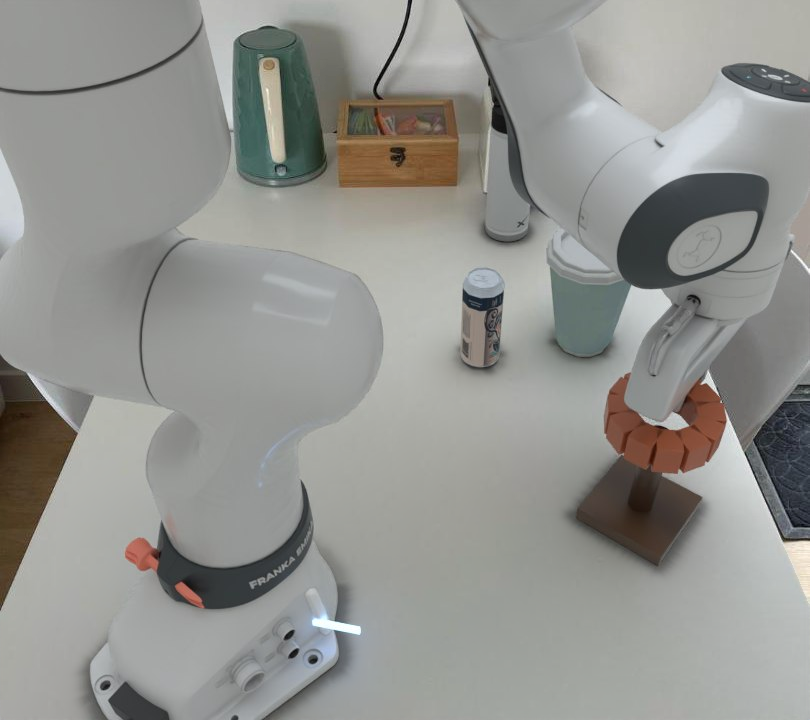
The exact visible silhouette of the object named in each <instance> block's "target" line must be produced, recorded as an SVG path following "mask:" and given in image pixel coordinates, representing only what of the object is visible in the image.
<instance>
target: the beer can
mask: <svg viewBox="0 0 810 720" xmlns="http://www.w3.org/2000/svg"><path fill="white" fill-rule="evenodd" d="M505 287H506V283H505V280H504V279H503V277H502V275H501V274H500V273H499V271H498V270H497V269H493V268H490V267H485V266H484V267H475V268H474V269H472V270H470V271H468V273H467V275H466V276H465V277H464V279H463V281H462V297H461V298H462V299H461V324H460V326H461V327H460V331H461V332H460V350H459V351H460V352H459V353H460V354H459V355H460V358H461V359H462V361H463V362H464V363H465V364H467V365H469V366H471V367H475V368H485V367H490V366H493V365H494V364H495V363H496V362H498V360H499V359H500V350H501V349H500V348H501V346H500V345H501V335H502V322H503V310H504V309H503V308H504V296H505V295H504V294H505Z"/></svg>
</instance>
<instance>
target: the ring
mask: <svg viewBox="0 0 810 720" xmlns="http://www.w3.org/2000/svg"><path fill="white" fill-rule="evenodd" d="M630 374H631V371H630V372H628V373H625V374H624V376H623V377H622V376H620V377H618V379H617V380H616V382H615V383H614V384H613V385H612V386H611V387H610V389H609V391H608V394H607V395H606V396H607V397H606V402H605V408H604V412H603V433H604V434H605V435H606V437H605V439H606V440H607V442H608V443H609V444H610V445H611V447H612V449H614V451H615V452H616V453H617V454H618V456H621V455H624V457H623V458H624V459H625V460H627V461H629V462H631V463H633V464H635V465H637V466H639V467H641V468H643V469H645V470H646V469H647V468H648V467H649V465H650V464H651V471H652V472H660V473H662V474H673V475H678V473H679V470H680V471H681V473H682V474H685V473H688V472H690V471H694V470H696V469H699V468H701V467H704V466H706V463H709V462H710V461H711V459H712V458H713V456H715V453H716V452H717V450H718V449H719V447H720V445H721V442H722V439H723V436H724V433H725V430H726V426H727V422H728V419H727V414H726V413H727V412H726V409H725V408H726V407H725V403H724V402H722V398H721V396H719V394H718V393H717V392H716V391H715V390H714V389H713V388H712V387H711V386H710V385H709V384H708V383H707V382H705V383H703V382H702V380H701V379H698V381H697V382H696V383H695V384H694V386H693V387H692V388H691V389H690V391H689V395H688V397H687V401H686V403H685V404H684V406H683V407H682V408H681V410H680V411H679V412H673V413H674V414H676V415H679V416H680V417H681V418H682V419H683V421H684V422H685V423H686V424H687V425H688V426H685V427H683V428H679V429H669V428H668V429H669V430H668V429H659V428H657V427H655V426H653V424H652V423H649V422H646V420H645V419H644V418H643V417H642V415H641V414H639V413H637V412H635V411H634V410H632V409H630V408H629V407H628V406H627V405H626V403H625V401H624V396H625V392H626V388H627V384H628V381H629V377H630ZM701 382H702V383H701Z"/></svg>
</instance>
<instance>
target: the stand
mask: <svg viewBox="0 0 810 720" xmlns="http://www.w3.org/2000/svg"><path fill="white" fill-rule="evenodd" d="M652 425H653V424H652ZM653 426H655V427H657V428H659V429H668V430H670V429H669V428H668V427H666V426H664V425H659V424H655V425H653ZM623 457H624V454H621V455H619V457H618V458H617V460H616V461H615V462H614V463H613V464H612V466H610V468H609V469H608V470H607V472H606V473H605V474H604V476H603V477H602V478H601V479H600V480H599V482H598V483H597V484H596V485H595V487H594V488H593V489H592V490H591V491H590V492H589V494H588V495H587V496H586V497H585V498H584V500H583V501H582V502H581V504H579V506H578V507H577V509H576V513H575V514H576V515H575V519H578V520H579V521H581V522H583V523H584V524H586V525H588V526H590V528H592V529H594V530H595V531H598V532H600V533H601V534H603V535H605V536H607V537H608V538H610V539H611V540H613V541H614V542H617V543H618V544H620V545H621V546H623V547H625V548H627V549H628V550H630V551H632V552H634V553H635V554H637V555H639V556H640V557H642V558H644V559H645V560H647V561H648V562H650V563H652V564H654V565H655V566H657V567H659V566H660V564H661V563H662V562H663V560H664V559H665V557H666V556H667V554H668V553H669V551H671V549H672V547H673V545H674V544H675V543H676V542H677V540H678V539H679V537H680V535H681V534H682V533H683V531H684V529H686V527H687V525H688V524H689V522H690V521H691V519H692V518H693V516H694V515H695V514H696V512H697V510H698V509H699V508H700V506H701V504H702V500H703V496H701V495H700V494H697V493H696V492H694V491H691V490H690V489H688V488H686V487H684V486H682V485H681V484H678V483H677V482H675V481H673V480H671V479H669V478H668V477H666V476H664V475H663V473H660V472H652V471H651V464H650V465H649V467H648V468H647V469H646V470H645V469H643V468H641V467H639V466H637V465H635V464H633V463H631V462H629V461H627V460H625V459H624V458H623Z"/></svg>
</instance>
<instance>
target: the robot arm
mask: <svg viewBox="0 0 810 720" xmlns="http://www.w3.org/2000/svg"><path fill="white" fill-rule="evenodd" d="M454 1H455V2H456V4H457V5H458V7H459V9H460V11H461V13H462V17H463V19H464V22H465V25H466V26H467V30H468V31H469V35H470V36H471V39H472V41H473V43H474V46H475V48H476V51H477V53H478V55H479V58H480V60H481V63H482V65H483V67H484V70H485V72H486V74H487V77H488V79H489V82H490V84H491V86H492V89H493V91H494V93H495V95H496V98H497V101H498V100H499V103H500V105H501V108H502V111H503V114H504V117H505V121H506V127H507V137H508V164H509V172H510V177H511V181H512V183H513V186H514V188H515V190H516V191H517V193H518V194H519V196H520V197H521V198H522V199H523V200H524V201H525V202H527V203H528V204H530V207H533V208H534V209H536V211H538V212H540V213H541V214H543V215H544V216H545V217H547V218H548V219H551V221H553V222H554V223H556V225H558V226H559V228H560V227H561V228H562V229H563V230H565V231H566V232H567V233H568V234H569V235H570V236H572V237H573V238H574V239H575V240H576V241H577V242H579V243H580V244H581V245H582V246H583V247H584V248H585V249H587V250H588V251H589V252H591V253H592V254H593V255H594V256H595V257H597V258H598V259H599V260H600V261H601V262H602V263H603V264H605V265H606V266H607V267H608V268H610V269H611V270H612V271H613V272H614V273H616V274H617V275H618V276H620V277H621V278H622V279H624V280H625V281H627V282H628V283H629V284H631V287H634V288H638V289H641V290H661V292H662V293H663V294H664V295H665V297H666V298H667V299H668V300H669V301H670V303H671V305H670V306H669V307H668V308H667V310H666V311H664V313H663V314H662V315H661V316H660V317H659V319H657V320H656V322H654V324H653V325H652V326H651V327H650V328H649V329H648V331H647V332H646V334H645V335H644V338H643V339H642V340H641V343H640V345H639V347H638V349H637V353H636V355H635V358H634V361H633V365H632V368H631V371H630V372H631V374H630V377H629V381H628V384H627V388H626V392H625V396H624V401H625V403H626V405H627V406H628V407H629V408H630V409H632V410H634V411H635V412H637V413H638V414H639V415H640V416H643V417H645V418H648V419H650V420H652V421H655V422H658V423H663V422H665V421H666V420H667V419H668V418H669V417H670V416H671V415H672V413H674V412H679V411H680V410H681V408H682V407H683V406H684V404H685V403H686V401H687V397H688V395H689V391H690V389H691V388H692V387H693V386H694V384H695V383H696V382H697V381H698V379H701V380H702V382H701V384H703V383H704V381H705V379H706V378H707V374H708V371H709V368H710V366H711V365H712V363H713V362H714V361H715V360H716V358H717V357H718V356H719V355H720V354H721V352H722V351H723V350H724V348H725V347H726V346H727V344H729V342H730V341H731V340H732V338H733V337H734V336H735V334H737V332H738V331H739V329H740V328H741V327H742V326H743V325H744V323H745V322H746V321H747V320H748V318H750V317H753V316H756V315H758V314H760V313H761V312H762V311H764V310H765V309H767V307H768V306H769V304H770V302H771V301H772V297H773V295H774V292H775V289H776V286H777V283H778V281H779V278H780V276H781V272H782V269H783V267H784V264H785V262H786V260H788V257H789V256H790V253H791V252H792V250H793V247H794V244H795V240H796V236H795V234H793V233H790V232H791V231H790V230H791V227H792V224H793V222H794V221H795V219H796V217H797V216H798V215H799V214H800V213H801V211H802V210H803V208H804V206H805V204H806V202H807V199H808V197H809V194H810V81H808V80H807V79H805V78H803V77H801V76H799V75H796V74H795V73H792V72H790V71H788V70H785V69H783V68H780V69H779V68H778V67H772V66H769V65H768V64H761V63H752V62H737V63H734V64H728V65H725V66H722V67H721V68H719V70H717V72H716V74H715V76H714V78H713V79H712V82H711V84H710V86H709V88H708V91H707V93H706V96H705V98H704V99H703V100H702V101H701V102H700V103H699V104H698V106H697V107H696V108H694V110H693V111H691V113H689V114H688V115H687V116H686V117H685V118H684V119H682V120H681V121H679V122H678V123H677V124H675V125H674V126H672V127H671V128H668V129H667V130H664V131H662V130H660V129H659V128H657V127H656V126H654V125H653V124H651V123H650V122H648V121H646V120H644V119H643V118H641V117H640V116H639V115H637V114H635V113H634V112H632V111H630V110H629V109H627V108H626V107H624V106H623V105H622V104H621V103H620V102H619V101H617V100H616V99H615V98H613V97H612V96H610V95H609V94H608V93H606V92H605V91H604V90H603V89H601V88H600V87H599V86H597V85H595V84H594V83H593V82H592V81H591V80H590V79H589V77H588V75H587V73H586V70H585V67H584V65H583V64H584V63H583V61H582V57H581V53H580V49H579V46H578V42H577V39H576V36H575V31H574V29H573V26H574V25H576V24H578V23H579V22H581V21H583V20H584V19H586V18H588V16H590V15H591V14H592V13H593V12H595V11H596V10H598V9H599V8H600V7H601V6H602V5H603V4H605V3H606V2H607V1H608V0H454ZM208 37H209V36H208V33H207V29H206V24H205V20H204V15H203V12H202V7H201V1H200V0H0V151H1V154H2V156H3V158H4V161H5V163H6V165H7V168H8V170H9V173H10V175H11V177H12V180H13V182H14V184H15V187H16V190H17V193H18V196H19V199H20V202H21V208H22V215H23V234H22V236H21V237H20V238H18V240H16V241H15V242H14V243H13V244H12V245H11V246H10V247H9V248H8V249H7V250H6V251H5V253H4V254H3V255H2V256H1V258H0V356H1V357H2V358H3V360H5V361H6V362H7V363H8V364H9V365H10V366H12V367H13V368H15V369H18V370H20V371H22V372H23V373H26V374H29V375H31V376H34V377H36V378H38V379H39V380H43V381H45V382H48V383H50V384H53V385H56V386H58V387H61V388H63V389H66V390H69V391H71V392H73V393H77V394H81V395H88V396H94V397H99V398H106V399H111V400H118V401H122V402H128V403H135V404H140V405H146V406H152V407H158V408H163V409H166V410H171V411H172V412H171V413H170V414H169V415H168V416H167V417H166V418H165V419H164V420H162V422H161V423H160V424H159V426H158V427H157V428H156V430H155V432H154V433H153V435H152V436H151V440H150V442H149V445H148V448H147V452H146V457H145V468H144V470H145V471H144V472H145V477H146V481H147V484H148V487H149V489H150V492H151V495H152V498H153V500H154V503H155V505H156V506H155V507H156V509H157V511H158V514H159V517H160V523H159V524H160V525H159V532H158V536H157V543H156V544H157V545H156V547H153V546H152V545H151V544H150V542H149V541H148V540H147V539H146V538H145V537H137V538H135V539H133V540H132V541H130V543H129V544H128V545H127V546H126V547H125V551H124V558H125V559H126V560H127V561H128V562H130V563H131V564H133V565H135V566H136V569H137V570H139V571H141V572H143V574H142V575H141V577H140V578H139V579H138V581H137V583H136V584H135V586H134V587H133V589H132V590H131V592H130V593H129V595H128V597H127V598H126V600H125V601H124V603H123V604H122V606H121V607H120V608H119V610H118V611H117V613H116V614H115V616H114V618H113V619H112V621H111V623H110V625H109V628H108V629H109V630H108V638H107V642H106V643H105V644H104V645H103V646H102V647H101V649H100V650H98V652H97V653H96V655H95V656H94V657H93V658H92V660H91V662H90V665H89V677H90V685H91V688H92V691H93V695H94V696H95V701H96V702H97V704H98V706H99V708H100V710H101V712H102V714H103V715H104V716H105V718H106V720H263V719H265V718H266V717H267V716H268V715H271V713H273V712H274V711H276V710H277V709H278V708H279V707H281V706H282V705H283V704H285V703H286V702H287V701H289V700H290V699H292V698H293V697H294V696H295V695H297V694H298V693H299V692H300V691H302V690H303V689H305V688H306V687H307V686H308V685H310V684H311V683H313V682H314V681H315V680H317V679H318V678H319V677H321V676H322V675H323V674H325V673H326V672H327V671H328V670H330V669H331V668H333V667H334V666H335V665H336V664H337V662H338V660H339V657H340V648H339V643H338V639H337V635H336V631H340V632H345V633H350V634H355V635H361V626H358V625H353V624H348V623H342V622H339V621H336V615H337V610H338V605H339V604H338V603H339V591H338V585H337V582H336V578H335V575H334V573H333V571H332V569H331V567H330V565H329V564H328V563H327V561H326V560H325V559H324V558H323V555H321V553H320V551H319V549H318V547H317V545H316V542H315V540H314V527H315V526H314V519H313V518H314V517H313V512H312V508H311V507H312V506H311V503H310V500H309V494H308V490H307V488H306V486H305V483H304V482H303V480H302V479H301V474H300V464H299V445H300V443H301V441H302V440H303V439H304V438H305V437H307V436H308V435H309V434H311V433H313V432H315V431H317V430H318V429H321V428H325V427H327V426H331V425H333V424H336V423H339V422H340V421H342V420H343V419H344V418H346V417H347V416H348V415H349V414H351V413H352V412H354V410H355V409H356V408H357V407H358V406H359V405H360V404H361V403H362V401H363V400H364V399H365V398H366V396H367V395H368V393H370V392H369V391H370V390H371V389H372V386H373V385H374V383H375V381H376V379H377V376H378V374H379V372H380V371H379V370H380V367H381V364H382V361H383V356H384V355H383V354H384V345H385V343H384V327H383V321H382V317H381V313H380V311H379V307H378V304H377V302H376V300H375V298H374V295H373V294H372V292H371V291H370V289H369V288H368V285H366V283H365V282H364V280H363V279H362V278H361V277H360V276H359V275H358V274H356V273H353V272H350V271H348V270H346V269H342V268H340V267H337V266H334V265H332V264H329V263H327V262H323V261H321V260H318V259H315V258H312V257H308V256H306V255H302V254H299V253H296V252H292V251H288V250H280V249H273V248H265V247H258V246H249V245H241V244H236V243H235V244H234V243H228V242H227V243H226V242H218V241H210V240H203V239H198V238H195V237H190V236H187V235H185V234H184V233H183V232H181V231H180V230H179V229H178V227H180V226H181V225H183V224H184V223H186V222H187V221H188V220H190V219H191V218H193V217H194V216H195V215H196V214H198V213H199V212H200V211H201V210H202V209H204V208H205V206H207V205H208V204H209V203H210V201H211V200H212V199H213V198H214V197H215V196H216V194H217V192H218V191H219V190H220V188H221V186H222V185H223V182H224V180H225V178H226V175H227V172H228V169H229V165H230V161H231V160H230V159H231V152H232V136H231V131H230V126H229V123H228V118H227V114H226V109H225V106H224V101H223V96H222V93H221V88H220V84H219V79H218V75H217V71H216V67H215V63H214V59H213V55H212V50H211V46H210V41H209V38H208ZM311 660H317V661H316V662H315V663H310V661H311ZM108 685H109V687H108V688H107V689H104V688H105V687H106V686H108Z"/></svg>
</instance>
